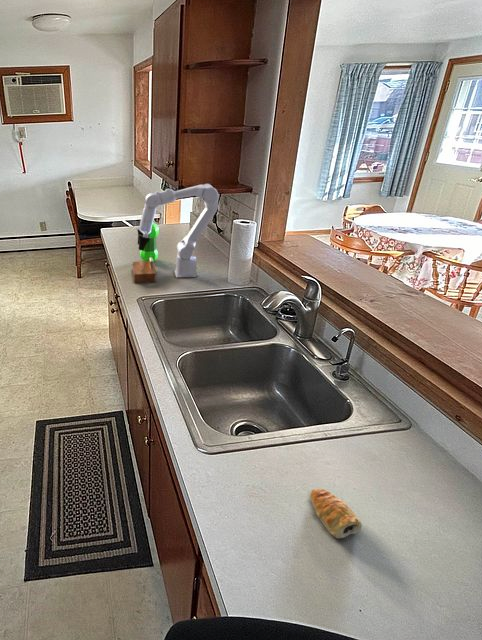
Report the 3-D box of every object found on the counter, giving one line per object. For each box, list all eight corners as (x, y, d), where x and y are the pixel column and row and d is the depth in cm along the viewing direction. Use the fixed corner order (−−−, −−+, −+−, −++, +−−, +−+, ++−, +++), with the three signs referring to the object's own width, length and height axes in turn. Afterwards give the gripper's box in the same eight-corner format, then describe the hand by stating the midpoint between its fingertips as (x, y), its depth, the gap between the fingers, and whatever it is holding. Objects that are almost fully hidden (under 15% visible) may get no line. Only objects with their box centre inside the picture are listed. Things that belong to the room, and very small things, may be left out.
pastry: (300, 499, 81) (303, 486, 80) (326, 490, 83) (330, 477, 81) (335, 543, 73) (339, 530, 72) (364, 532, 75) (369, 519, 73)
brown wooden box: (151, 269, 197) (151, 262, 195) (154, 282, 183) (154, 274, 181) (132, 270, 197) (132, 263, 196) (134, 282, 183) (134, 275, 181)
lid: (153, 262, 195) (153, 253, 193) (156, 274, 181) (156, 265, 179) (132, 263, 196) (132, 254, 194) (134, 275, 181) (134, 265, 179)
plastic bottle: (136, 258, 211) (135, 213, 201) (154, 256, 214) (154, 211, 204) (143, 265, 202) (143, 218, 192) (162, 262, 205) (162, 215, 195)
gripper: (137, 214, 185) (131, 240, 190) (139, 222, 171) (132, 250, 177) (152, 216, 185) (145, 243, 191) (155, 225, 172) (148, 253, 178)
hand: (140, 247), depth 184 cm, fingers open, 7 cm apart
